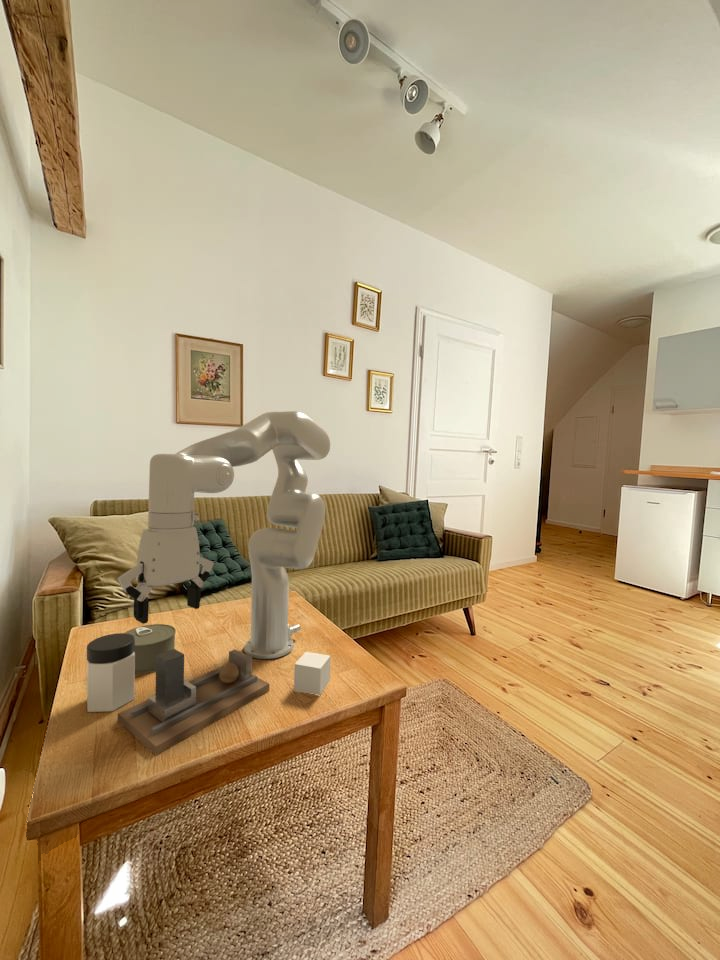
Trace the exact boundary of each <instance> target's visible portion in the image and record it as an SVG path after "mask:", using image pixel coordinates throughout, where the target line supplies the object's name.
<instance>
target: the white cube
mask: <svg viewBox="0 0 720 960" xmlns="http://www.w3.org/2000/svg"><path fill="white" fill-rule="evenodd" d="M331 657H332V656H331V655H328V654H322V653H316V652H311V651H310V652H309V651H305V652H304V653H303V654H302V655H301V657H299V659H297V660H296V662H294V673H293V674H294V675H293V691H294V692H295V691H299V692H298V693H301V692H305V693H304V694H306V693H313V694H318V695H320V694H321V693H322V691H323V689H324V688H325V687H326V685H327V684H328V682H329V681H330V682H331ZM330 682H329V683H330ZM328 685H329V684H328ZM328 685H327V686H328ZM326 688H327V687H326ZM326 688H325V689H326ZM323 692H324V691H323ZM322 694H323V693H322ZM322 694H321V695H322Z"/></svg>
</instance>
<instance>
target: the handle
mask: <svg viewBox="0 0 720 960" xmlns="http://www.w3.org/2000/svg"><path fill="white" fill-rule="evenodd" d="M147 700H148V711H149V712H150V713H151V714H153V715H154V716H155V717H156V718H158V719H159V720H160V721H162V722H165V721H166V720H168V719H170V718H172V717H174V716H176V715H178V714H180V713H182V712H184V711H186V710H188V709H190V708H192V707H194V706H196V686H194V685H192V684H191V683H189V682H188V681H187V680H186V679H185V654H184V653H182V652H181V651H179V650H177V649H175V648H174V649H173V650H170V651H167V652H165V653H162V654H159V655H157V656H156V671H155V694H153V695H151V696H148V697H147Z"/></svg>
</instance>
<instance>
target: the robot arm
mask: <svg viewBox="0 0 720 960" xmlns="http://www.w3.org/2000/svg"><path fill="white" fill-rule="evenodd" d="M271 450H272V453H273V456H274V459H275V461H276V465H277V471H278V472H277V479H276V480H275V481H276V482H275V485H274V487H273V490H272V493H271V496H270V500H269V503H268V505H267V509H266V518H267V520H268V522H269V523H271V524H273V525H275V526H277V528H276V527H275V528H274V527H263V528H260V529H257V530H256V531H253V533H252V534H251V535H250V537H249V540H248V545H247V547H248V549H247V550H248V552H247V553H248V556H249V561H250V562H249V563H250V570H251V571H250V572H251V595H250V596H251V600H250V601H251V604H250V606H251V607H250V608H251V609H250V639H248V640H247V641H246V642H245V644H244V649H243V650H244V651H243V652H244V654H246V655H248V656H250V657H252V659H253V658H254V659H261V660H270V659H271V660H272V659H277V658H281V657H283V656H286V655H287V654H289V653H290V652H291V651H292V650H293V649H294V640H293V639H292V638H291V636H293V634H295V633H297V632H300V630H301V625H300V624H298V623H296V624H295V625H292V626H291V625H290V624H289V594H290V592H289V590H290V580H289V575H288V573H287V571H286V568H287V569H293V570H294V569H295V570H304V569H306V568H308V567H310V565H312V562H313V560H314V558H315V555H316V552H317V549H318V548H317V547H318V545H319V541H320V536H321V533H322V530H323V527H324V526H323V525H324V524H325V523H324V522H325V519H326V518H325V517H326V505H325V502H324V499H323V498H322V496H321V495H319V494H317V493H312V492H306V490H307V486H308V481H309V480H308V479H309V478H308V475H307V473H306V471H305V469H304V467H303V466H302V464H301V462H300V461H299V460H302V461H303V460H305V461H309V460H310V461H313V460H314V461H320V460H323V459H325V458H326V457H327V456H328V455H329V454H330V453H329V452H330V451H331V441H330V437H329V435H328V433H327V431H325V429H324V428H322V427H321V426H320V425H319V424H318V423H317V422H315V421H314V420H313V419H312V418H310V417H309V416H308V415H307V414H305V413H302V412H300V411H298V410H297V411H296V410H295V411H294V410H293V411H287V410H286V411H270V412H269V411H268V412H265V413H262V414H260V415H258V416H257V417H255V418H253V419H252V420H250V421H248V422H247V423H244V424H243V425H241V426H240V427H238V428H236V429H235V430H231V431H228V432H225V433H222V434H218V435H216V436H212V437H210V438H207V439H204V440H201V441H199V442H194V443H193V444H191V445H189V446H187V447H185V448H183V449H180V451H178V452H176V453H158V454H154V455H153V456H152V457H151V458H150V461H149V476H148V477H149V479H148V482H149V483H148V486H149V487H148V516H147V529H146V528H145V529H143V530H142V532H141V536H140V539H139V544H138V551H137V555H136V556H137V557H136V563H135V566H134V567H132V568H130V569H128V570H127V571H126V572H124V573H122V574H121V575H120V576H118V577H117V582H118V584H119V585H120V586H121V588H122V590H123V593H125V594H126V595H128V596H129V597H130V598H132V599H133V617H134V619H135V620H136V622H139V623H140V624H143V625H144V624H148V622H149V605H150V604H149V600H148V599H146V598H147V596H148V595H149V594H150V593H151V592H152V590H153V589H154V588H161V587H165V586H171V585H175V584H179V583H184V582H188V583H189V584H190V585H189V584H188V586H187V598H186V599H187V601H186V603H187V605H186V606H187V607H190V608H192V609H195V610H198V609H200V602H201V599H202V597H201V595H202V588H203V587H204V586H205V582H206V580H207V579H208V578H209V576H210V572H211V571H212V569H213V567H214V564H215V563H214V561H212V560H210V559H207V558H205V557H203V556H201V553H200V540H199V535H198V530H197V527H195V526H194V525H195V521H198V520H199V519H200V515H199V513H196V512H195V493H201V494H218V493H222V492H224V491H226V490H228V489H229V487H231V485H232V484H233V481H234V478H235V470H234V467H240V466H241V467H242V466H245V465H250V464H252V463H255V462H258V460H259V459H261V458H262V457H264V456H265V455H267V454H268V453H269V452H271ZM278 526H279V527H285V528H286V527H287V528H296V530H295V529H294V530H293V529H285V528H278ZM201 565H202V570H200V569H201ZM133 579H135V582H137V583H138V584H137V585H136V587H134V586H133V584H132V581H133Z"/></svg>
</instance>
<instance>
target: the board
mask: <svg viewBox="0 0 720 960" xmlns="http://www.w3.org/2000/svg"><path fill="white" fill-rule="evenodd" d="M252 668H253V657H251V656H249V655H247V654H246V653H245V652H244V653H243V652H241V651H239V650H237V649H232V650H230V651H229V652H228V662H227V663H225V664H223V665H222V666H219V667H217V668H215V669H212V670H211V671H208V672H206V673H204V674H202V675H201V674H200V675H199V676H197V677H195V678H193V679H191V680H189V681H188V682H189V683H191V684H192V685H194V686H196V706H194V707H192V708H190V709H188V710H186V711H184V712H182V713H180V714H178V715H176V716H174V717H172V718H170V719H168V720H166V721H165V722H162V721H160V720H159V719H158V718H156V717H155V716H154V715H153V714H151V713H150V712H149V711H148V699H146V700H144V701H141V702H140V703H137V704H135V705H133V706H131V707H128V708H126V709H124V710H122V711H119V712H117V722H118V723H119V724H121V726H122V727H123V728H125V729H126V730H127V732H129V734H131V735H132V736H134V738H136V739H137V740H138V741H139V742H140V743H141V744H143V745H144V746H145V748H146V749H148V750H149V751H150V752H151V753H153V754H154V756H157V755H159V754H160V753H162V752H164V751H166V750H167V749H168V750H169V748H171V747H173V746H175V745H176V744H178V743H180V742H183V740H186V739H187V738H189V737H190V736H192V735H195V734H196V733H197V732H200V731H201V730H204V728H206V727H208V726H210V725H211V724H213V723H215V722H217V721H218V720H221V719H222V718H223V717H225V716H227V715H229V714H231V713H232V712H235V711H236V710H237V709H240V708H242V707H243V706H245V705H247V704H248V703H250V702H251V701H254V700H255V699H257V698H258V697H261V696H262V695H264V694H266V693H267V692H269V691H270V683H269V682H268V681H265V680H263V679H261V678H260V677H258V676H257V675H253V673H252V672H253V669H252Z"/></svg>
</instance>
